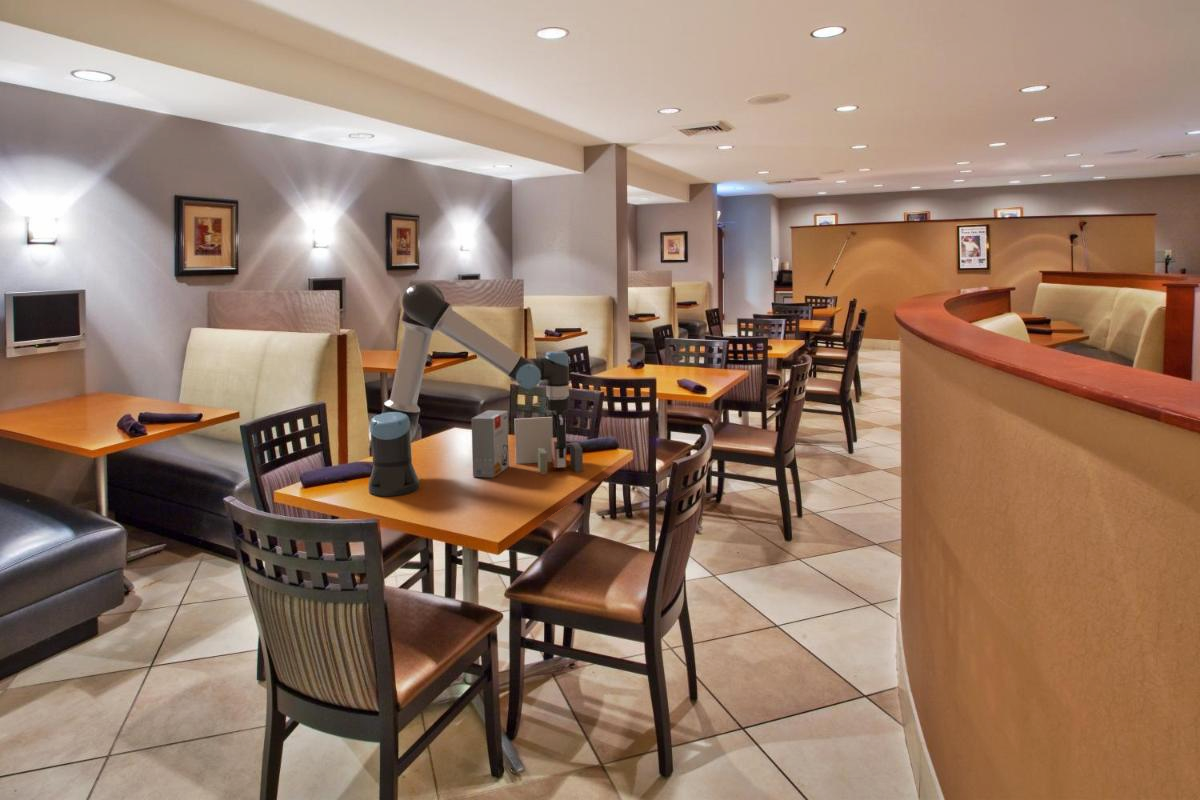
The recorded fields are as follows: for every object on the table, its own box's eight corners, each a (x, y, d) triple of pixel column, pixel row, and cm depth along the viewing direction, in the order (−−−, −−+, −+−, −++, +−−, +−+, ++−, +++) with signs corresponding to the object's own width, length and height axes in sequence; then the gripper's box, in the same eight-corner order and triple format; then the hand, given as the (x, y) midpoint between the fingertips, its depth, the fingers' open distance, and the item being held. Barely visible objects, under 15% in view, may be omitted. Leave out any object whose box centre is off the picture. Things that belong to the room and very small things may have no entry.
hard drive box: (494, 478, 230) (492, 419, 227) (472, 477, 232) (469, 418, 228) (509, 466, 245) (507, 410, 242) (489, 465, 247) (486, 409, 243)
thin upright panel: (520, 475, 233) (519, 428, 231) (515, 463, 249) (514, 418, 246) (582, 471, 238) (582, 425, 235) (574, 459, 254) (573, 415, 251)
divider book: (541, 474, 235) (540, 453, 234) (538, 467, 243) (537, 448, 242) (547, 473, 236) (546, 453, 234) (544, 467, 243) (543, 447, 242)
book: (554, 467, 236) (554, 441, 235) (551, 463, 242) (551, 437, 241) (566, 467, 237) (565, 441, 236) (563, 462, 243) (563, 437, 241)
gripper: (574, 401, 227) (575, 471, 231) (564, 392, 246) (565, 456, 250) (550, 403, 226) (552, 472, 230) (543, 393, 244) (544, 458, 248)
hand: (559, 464), depth 240 cm, fingers closed on book, 6 cm apart
